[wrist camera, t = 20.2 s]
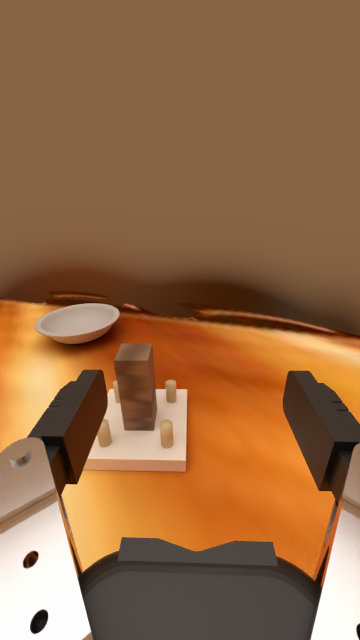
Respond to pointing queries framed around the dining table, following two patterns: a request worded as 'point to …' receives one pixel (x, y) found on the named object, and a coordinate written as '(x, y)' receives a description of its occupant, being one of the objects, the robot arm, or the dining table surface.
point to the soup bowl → (77, 323)
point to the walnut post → (136, 386)
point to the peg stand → (143, 436)
